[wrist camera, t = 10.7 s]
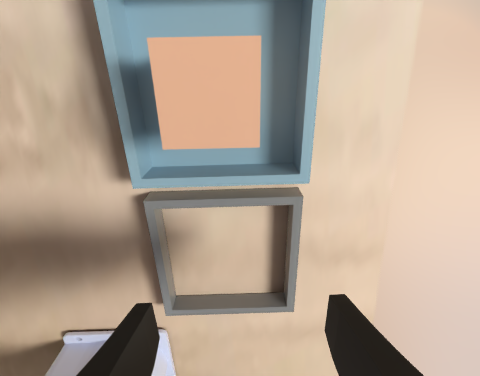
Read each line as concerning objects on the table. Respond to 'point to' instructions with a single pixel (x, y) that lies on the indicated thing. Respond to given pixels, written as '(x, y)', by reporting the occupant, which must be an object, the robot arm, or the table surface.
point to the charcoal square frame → (224, 199)
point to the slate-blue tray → (271, 97)
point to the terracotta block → (207, 91)
